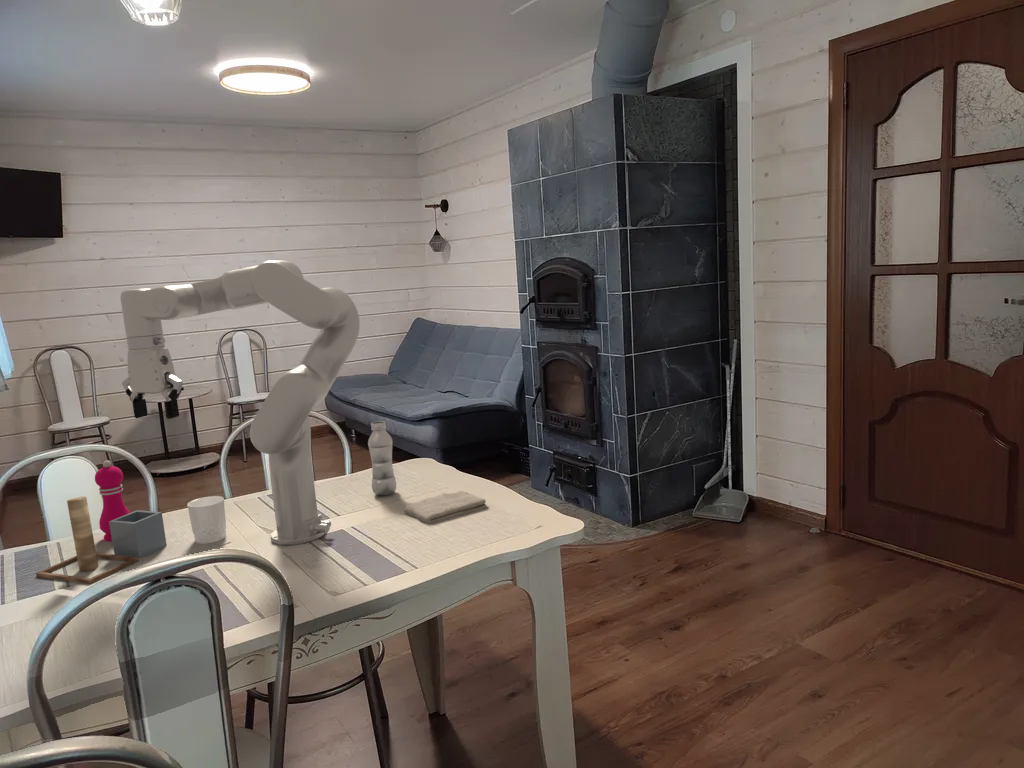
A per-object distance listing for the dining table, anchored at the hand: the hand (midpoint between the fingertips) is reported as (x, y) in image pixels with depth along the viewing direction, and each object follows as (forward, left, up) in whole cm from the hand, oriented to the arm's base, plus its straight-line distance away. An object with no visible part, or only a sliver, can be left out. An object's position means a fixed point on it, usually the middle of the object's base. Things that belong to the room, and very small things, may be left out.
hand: (157, 417), depth 170 cm
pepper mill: (+16, +2, -31) cm, 34 cm away
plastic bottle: (-32, -42, -31) cm, 61 cm away
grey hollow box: (+2, +8, -30) cm, 31 cm away
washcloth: (-55, -33, -31) cm, 72 cm away
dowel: (+5, +19, -30) cm, 36 cm away
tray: (+5, +19, -30) cm, 36 cm away
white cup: (-9, -2, -31) cm, 32 cm away
